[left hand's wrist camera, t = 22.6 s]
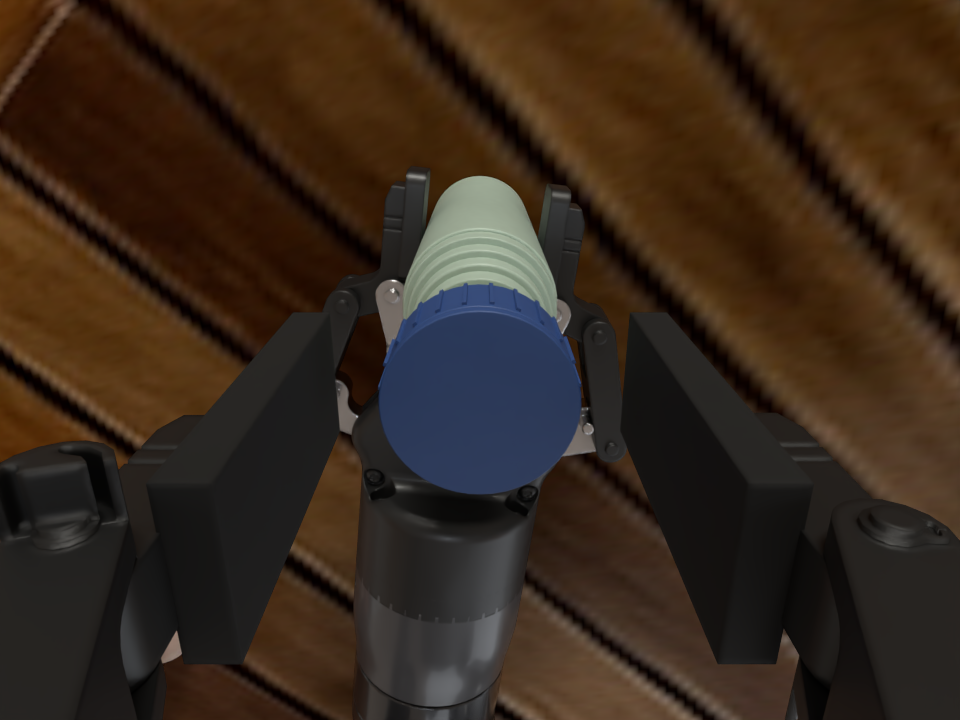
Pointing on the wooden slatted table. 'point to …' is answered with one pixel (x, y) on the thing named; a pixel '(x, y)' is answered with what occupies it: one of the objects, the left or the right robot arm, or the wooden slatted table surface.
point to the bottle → (479, 246)
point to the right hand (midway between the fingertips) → (488, 180)
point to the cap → (479, 390)
